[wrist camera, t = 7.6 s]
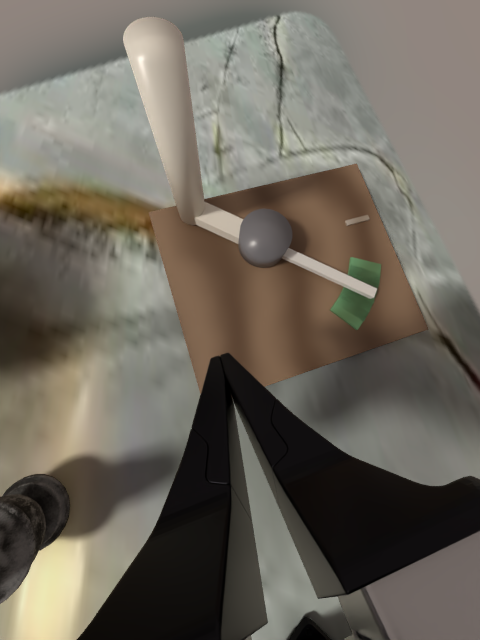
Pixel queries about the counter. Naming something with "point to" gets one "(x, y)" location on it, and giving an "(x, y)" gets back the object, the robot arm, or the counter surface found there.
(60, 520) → the salt shaker
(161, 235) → the dial plate
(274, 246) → the crank handle
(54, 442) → the counter surface
